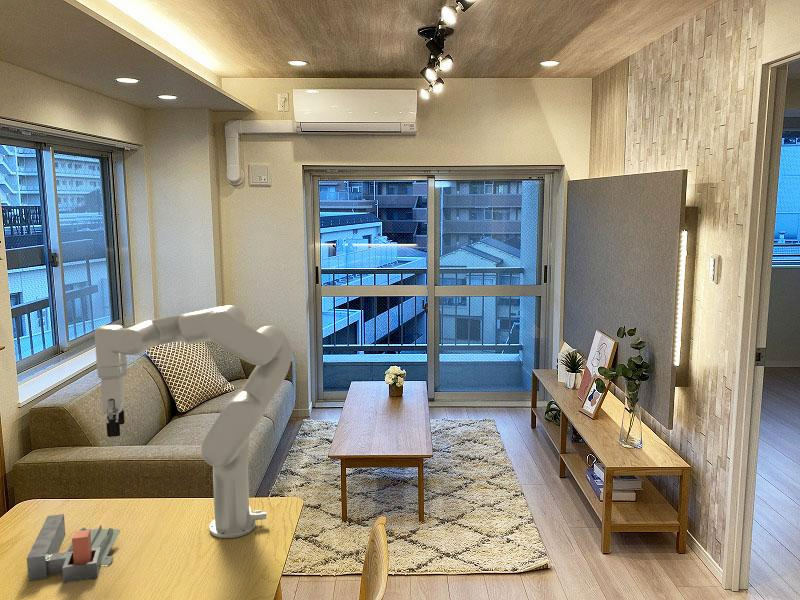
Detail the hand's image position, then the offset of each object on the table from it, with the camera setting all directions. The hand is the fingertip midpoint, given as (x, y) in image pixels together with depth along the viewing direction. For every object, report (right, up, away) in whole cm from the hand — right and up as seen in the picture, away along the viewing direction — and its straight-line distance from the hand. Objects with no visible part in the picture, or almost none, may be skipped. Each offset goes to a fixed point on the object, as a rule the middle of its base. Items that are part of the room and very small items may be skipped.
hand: (116, 430), depth 180 cm
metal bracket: (-2, -31, -10) cm, 32 cm away
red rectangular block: (0, -32, -18) cm, 37 cm away
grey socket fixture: (-6, -30, -12) cm, 33 cm away
